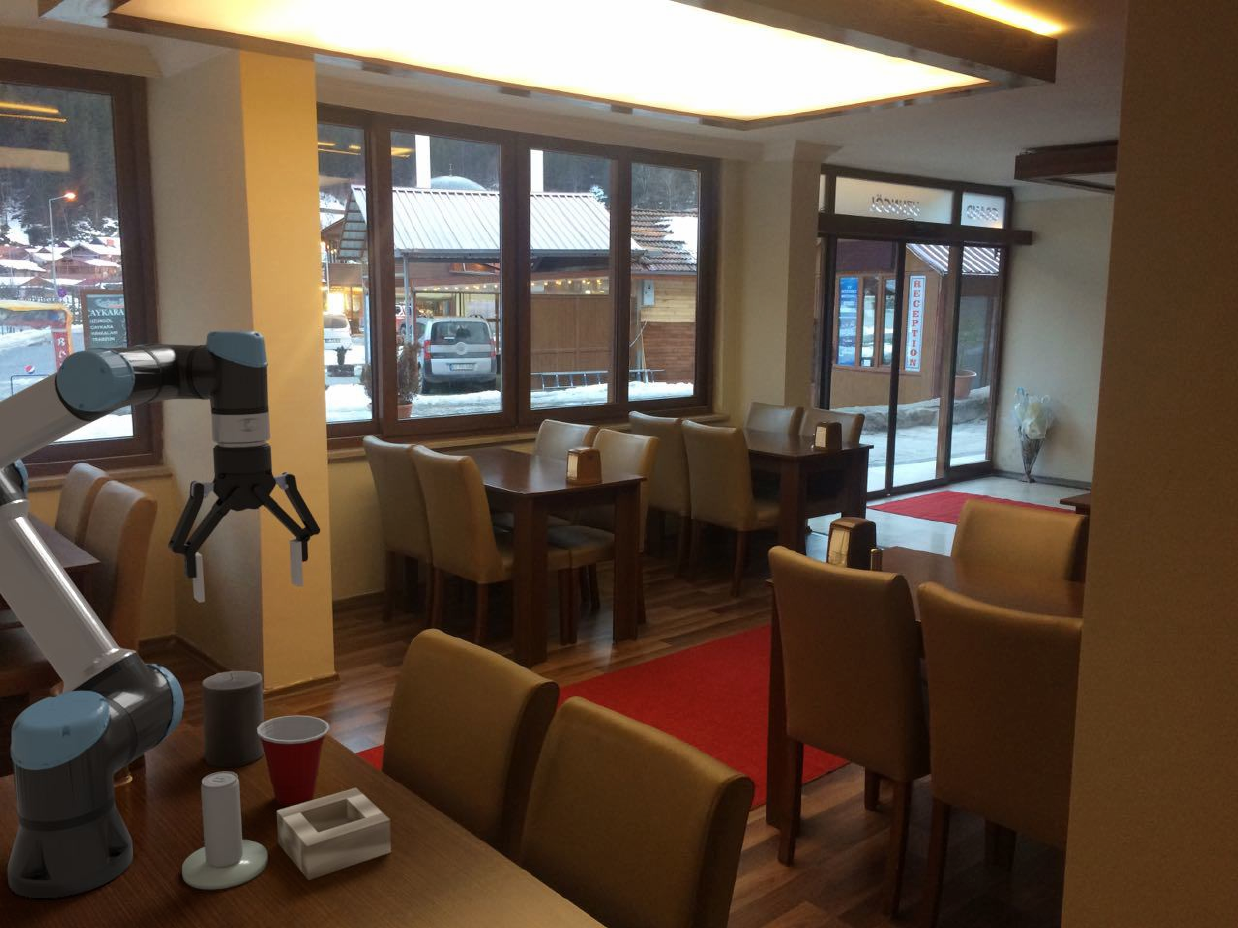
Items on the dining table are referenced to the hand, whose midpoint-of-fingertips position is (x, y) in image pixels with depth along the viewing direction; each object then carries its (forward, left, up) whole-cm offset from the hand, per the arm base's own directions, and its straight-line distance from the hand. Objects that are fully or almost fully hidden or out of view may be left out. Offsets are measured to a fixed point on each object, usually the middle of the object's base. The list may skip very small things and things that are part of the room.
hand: (249, 592), depth 144 cm
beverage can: (+6, -7, -36) cm, 37 cm away
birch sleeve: (+10, +7, -37) cm, 39 cm away
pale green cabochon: (+6, -7, -37) cm, 38 cm away
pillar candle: (-29, +5, -37) cm, 47 cm away
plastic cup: (-8, +8, -37) cm, 39 cm away
